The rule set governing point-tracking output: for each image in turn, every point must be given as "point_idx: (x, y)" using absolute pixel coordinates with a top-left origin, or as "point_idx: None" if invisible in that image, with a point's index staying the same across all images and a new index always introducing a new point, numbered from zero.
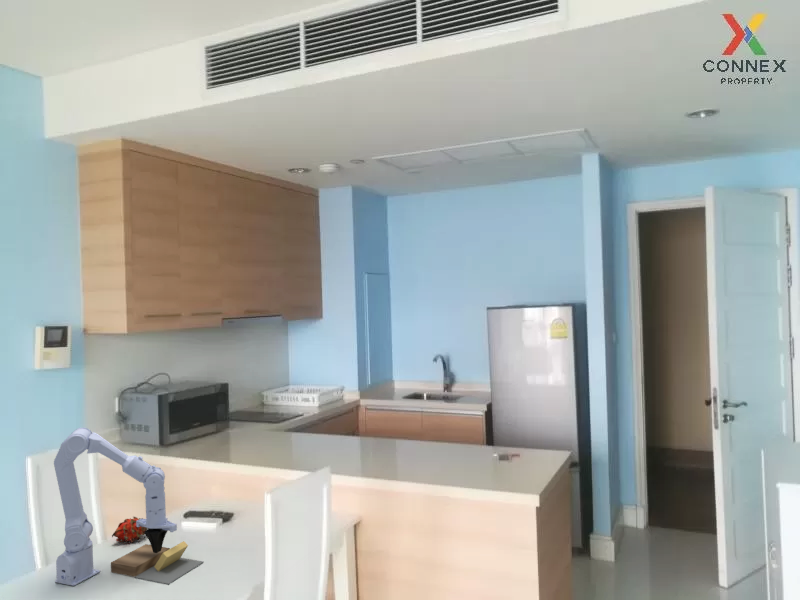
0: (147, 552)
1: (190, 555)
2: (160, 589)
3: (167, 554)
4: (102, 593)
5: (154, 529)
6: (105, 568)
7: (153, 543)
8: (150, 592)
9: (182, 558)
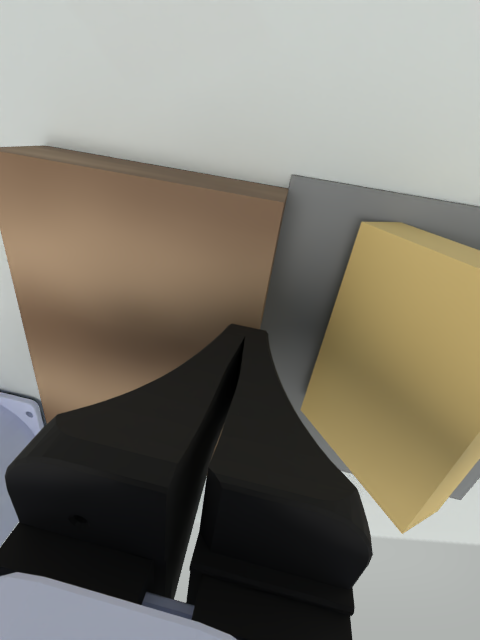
0: (143, 310)
1: (476, 105)
2: (431, 520)
3: (433, 505)
4: (200, 522)
5: (152, 589)
6: (20, 365)
7: (216, 443)
8: (394, 533)
9: (424, 209)
